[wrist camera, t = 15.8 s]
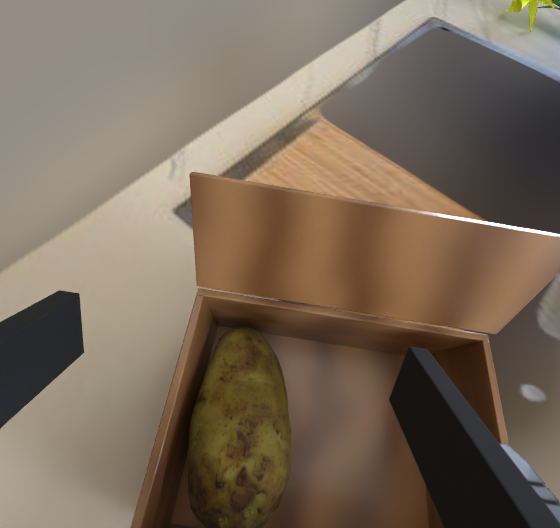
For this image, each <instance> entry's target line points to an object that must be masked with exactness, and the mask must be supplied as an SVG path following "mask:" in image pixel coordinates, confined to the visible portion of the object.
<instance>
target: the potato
mask: <svg viewBox="0 0 560 528" xmlns="http://www.w3.org/2000/svg"><path fill="white" fill-rule="evenodd" d="M218 340H219V341H218V343H217V345H216V347H215V349H214V352H213V354H212V356H211V360H210V362H209V365H208V368H207V370H206V373H205V376H204V379H203V382H202V385H201V388H200V391H199V394H198V397H197V400H196V402H195V403H194V410H193V413H192V417H191V422H190V427H189V470H188V494H189V500H190V507H191V510H192V512H193V513H194V514H195V516H196V518H197V519H198V520H199V521H200V522H201V523H202V524H203V525H204V526H205V527H206V528H263V527H264V526H265V525H266V523H267V522H268V520H269V519H270V518H271V517H272V515H273V514H274V512H275V511H276V509H277V508H278V507H279V503H280V501H281V498H282V496H283V494H284V491H285V489H286V486H287V482H288V479H289V473H290V437H291V428H290V419H289V412H288V398H287V392H286V387H285V381H284V376H283V372H282V368H281V365H280V363H279V360H278V358H277V356H276V354H275V353H274V351H273V349H272V348H271V346H270V345H269V343H268V342H267V340H266V339H265V337H264V336H263V335H262V334H261V333H260V332H259V331H258V330H256V329H255V328H253V327H247V326H245V327H237V328H234V329H231V330H229V331H228V332H226V333H225V334H224V335H223V336H222V337H221V338H219V339H218Z"/></svg>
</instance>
